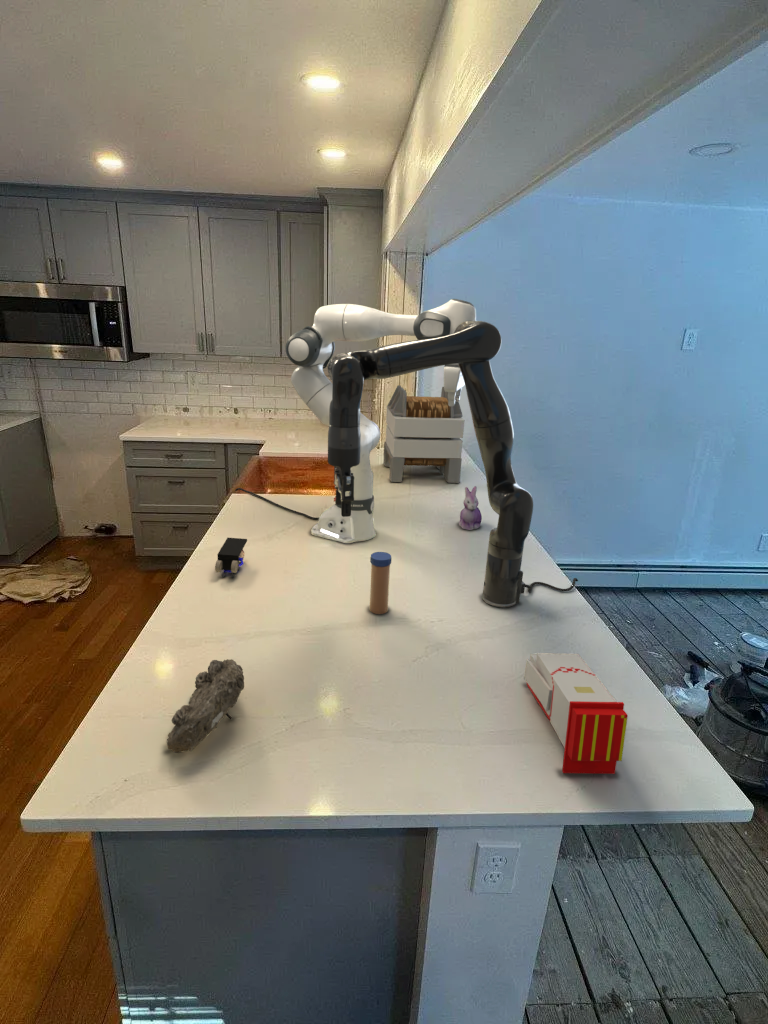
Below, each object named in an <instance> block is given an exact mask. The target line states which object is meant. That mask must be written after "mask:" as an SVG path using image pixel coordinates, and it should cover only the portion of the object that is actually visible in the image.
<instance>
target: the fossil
mask: <svg viewBox="0 0 768 1024" xmlns="http://www.w3.org/2000/svg"><path fill="white" fill-rule="evenodd" d="M243 670H244V669H243V667H242V665H240V664H237V662H236V661H235V660H234V659H232V658H231V659H227V658H226V659H224V660H223V661H222V660H217V659H212V660H211V661H210V663H209V665H208V666H207V671H201V672H199V673H198V674H197V675H196V676H195V680H194V684H195V685H194V687H195V689H194V690H193V693H192V694H191V697H190V698H189V700H188V704H184V705H182V706H181V707H180V709H177V710H176V711H175V713H174V715H173V716H172V718H171V723H172V724H173V727H172V730H171V731H170V732H168V734H167V738H166V741H167V742H166V745H167V749H168V750H169V751H173V752H174V753H176V754H178V753H182V752H188V751H189V752H192V751H193V750H195V748H196V747H197V746H199V744H200V743H201V742H203V741H204V740H205V739H206V738H207V737H208V736H209V735H210V734H211V733H212V732H214V730H215V729H217V727H218V726H219V724H220V722H221V721H222V720H223V719H224V718H225V716H226V717H227V719H229V720H233V717H232V715H230V714H229V710H230V709H231V708H234V706H235V704H236V703H237V702H238V699H239V697H240V695H241V693H242V691H243V690H245V689H244V688H245V675H244V671H243Z"/></svg>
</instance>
